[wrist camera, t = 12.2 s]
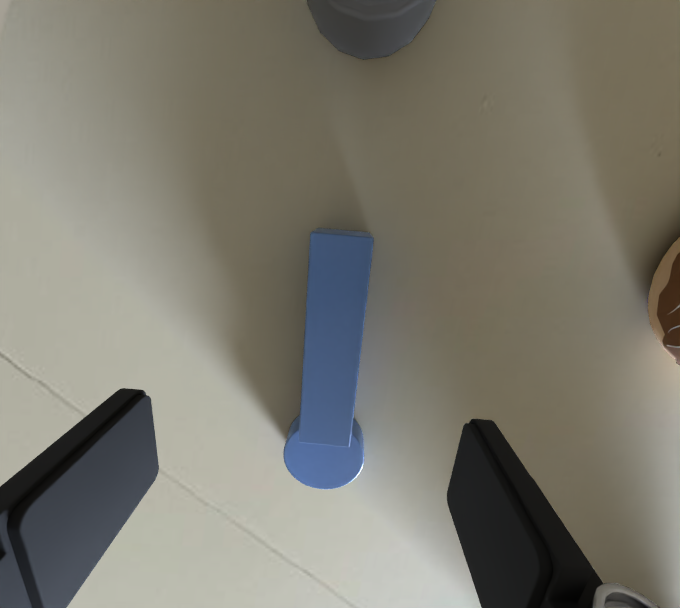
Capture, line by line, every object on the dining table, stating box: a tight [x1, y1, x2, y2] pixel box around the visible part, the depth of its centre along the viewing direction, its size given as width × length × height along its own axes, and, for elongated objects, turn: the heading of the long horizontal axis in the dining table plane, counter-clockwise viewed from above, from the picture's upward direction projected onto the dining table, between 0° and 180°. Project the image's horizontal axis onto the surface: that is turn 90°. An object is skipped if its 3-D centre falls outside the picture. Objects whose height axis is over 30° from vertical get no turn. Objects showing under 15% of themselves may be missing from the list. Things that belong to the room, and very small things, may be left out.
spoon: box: [284, 228, 374, 489], centre depth 19 cm, size 17×5×3 cm, turn 175°
